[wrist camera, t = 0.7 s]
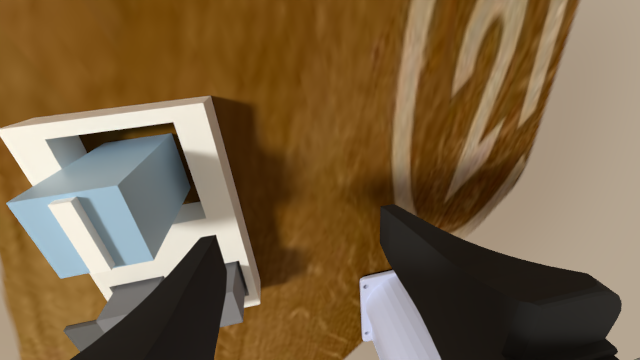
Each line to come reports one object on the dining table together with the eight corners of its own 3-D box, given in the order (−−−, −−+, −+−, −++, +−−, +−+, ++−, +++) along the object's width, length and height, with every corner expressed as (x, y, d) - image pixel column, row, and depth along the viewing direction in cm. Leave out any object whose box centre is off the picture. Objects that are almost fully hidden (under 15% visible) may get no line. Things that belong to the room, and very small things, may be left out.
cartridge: (190, 187, 19) (150, 266, 12) (130, 197, 19) (54, 285, 12) (171, 133, 18) (112, 189, 11) (104, 142, 17) (-3, 208, 10)
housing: (260, 280, 24) (260, 303, 22) (141, 305, 23) (128, 333, 21) (210, 95, 17) (202, 102, 15) (33, 118, 16) (-4, 129, 14)
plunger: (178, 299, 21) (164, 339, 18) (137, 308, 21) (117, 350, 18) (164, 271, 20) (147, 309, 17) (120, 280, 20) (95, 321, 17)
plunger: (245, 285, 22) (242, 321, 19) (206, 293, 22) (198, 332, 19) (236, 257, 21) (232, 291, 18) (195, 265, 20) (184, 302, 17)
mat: (196, 359, 27) (195, 363, 27) (109, 380, 26) (107, 385, 26) (168, 304, 24) (166, 308, 23) (66, 326, 23) (63, 330, 22)
